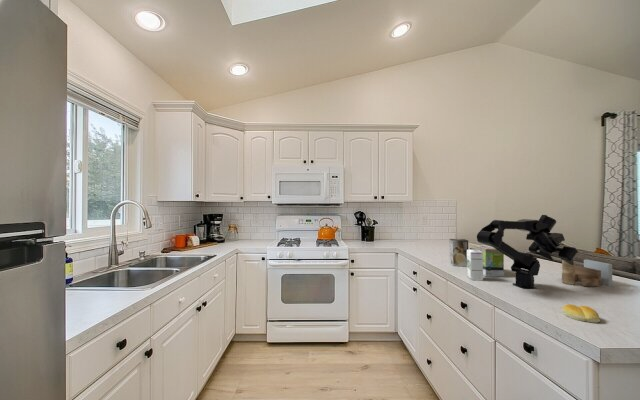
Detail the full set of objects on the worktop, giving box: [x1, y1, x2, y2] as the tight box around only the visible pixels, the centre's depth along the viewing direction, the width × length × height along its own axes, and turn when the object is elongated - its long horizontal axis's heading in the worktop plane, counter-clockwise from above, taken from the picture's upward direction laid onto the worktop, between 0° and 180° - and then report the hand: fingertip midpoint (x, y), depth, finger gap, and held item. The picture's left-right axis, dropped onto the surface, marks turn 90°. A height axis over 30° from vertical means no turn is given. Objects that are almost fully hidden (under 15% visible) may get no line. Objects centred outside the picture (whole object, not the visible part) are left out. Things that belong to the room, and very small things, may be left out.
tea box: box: [469, 244, 505, 278], centre depth 140 cm, size 15×10×15 cm
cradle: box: [575, 264, 602, 287], centre depth 123 cm, size 9×10×7 cm
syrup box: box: [466, 249, 484, 282], centre depth 130 cm, size 6×6×14 cm
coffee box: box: [449, 238, 470, 267], centre depth 158 cm, size 9×6×16 cm
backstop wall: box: [583, 259, 613, 287], centre depth 124 cm, size 2×10×10 cm, turn 7°
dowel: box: [561, 260, 576, 286], centre depth 122 cm, size 4×4×11 cm
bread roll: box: [561, 303, 601, 324], centre depth 86 cm, size 8×9×4 cm
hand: (562, 262), depth 121 cm, fingers open, 9 cm apart
